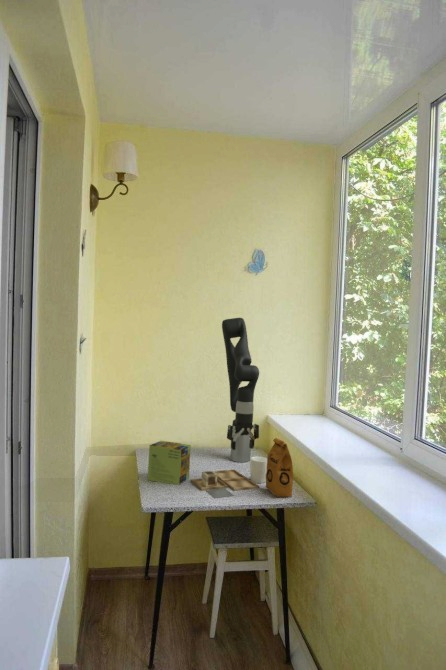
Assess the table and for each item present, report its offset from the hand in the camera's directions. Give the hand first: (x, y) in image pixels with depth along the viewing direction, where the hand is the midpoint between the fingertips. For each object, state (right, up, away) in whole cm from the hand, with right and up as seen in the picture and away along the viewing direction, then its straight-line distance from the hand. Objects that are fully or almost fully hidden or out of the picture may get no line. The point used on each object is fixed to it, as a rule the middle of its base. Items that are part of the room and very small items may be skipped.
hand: (242, 448), depth 221 cm
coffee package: (+15, -18, -5) cm, 24 cm away
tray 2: (-6, -15, +11) cm, 20 cm away
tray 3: (-1, -16, +1) cm, 16 cm away
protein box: (-32, -15, +4) cm, 35 cm away
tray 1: (-14, -15, -1) cm, 21 cm away
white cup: (+7, -17, +9) cm, 20 cm away
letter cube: (-14, -15, -1) cm, 21 cm away
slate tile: (-10, -16, -11) cm, 22 cm away
